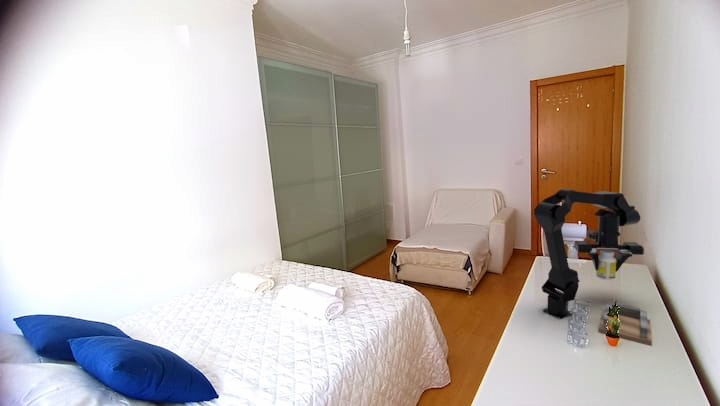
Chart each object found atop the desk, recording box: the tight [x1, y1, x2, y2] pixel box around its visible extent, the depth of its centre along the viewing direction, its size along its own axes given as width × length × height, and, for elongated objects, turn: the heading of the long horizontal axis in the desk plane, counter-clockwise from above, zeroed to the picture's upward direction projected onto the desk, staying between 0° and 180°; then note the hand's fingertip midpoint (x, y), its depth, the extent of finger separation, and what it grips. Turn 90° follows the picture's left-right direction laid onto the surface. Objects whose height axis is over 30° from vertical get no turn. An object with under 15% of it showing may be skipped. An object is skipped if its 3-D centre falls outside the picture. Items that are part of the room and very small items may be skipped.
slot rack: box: [598, 302, 653, 346], centre depth 99 cm, size 14×12×4 cm
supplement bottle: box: [595, 250, 617, 281], centre depth 113 cm, size 5×5×10 cm
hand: (606, 270), depth 113 cm, fingers closed on supplement bottle, 5 cm apart
